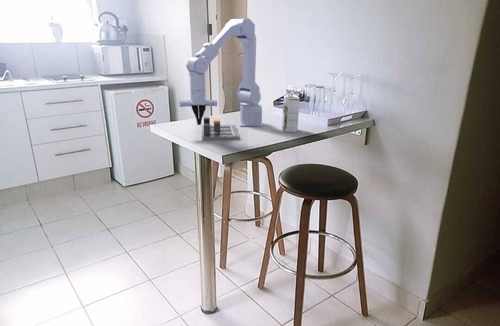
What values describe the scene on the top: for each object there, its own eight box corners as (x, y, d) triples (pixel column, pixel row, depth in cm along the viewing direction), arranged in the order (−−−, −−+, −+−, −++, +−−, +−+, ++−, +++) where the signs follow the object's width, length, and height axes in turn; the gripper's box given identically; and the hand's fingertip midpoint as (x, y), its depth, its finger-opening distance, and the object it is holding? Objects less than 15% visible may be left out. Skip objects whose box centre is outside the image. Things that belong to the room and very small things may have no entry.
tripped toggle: (219, 128, 146) (219, 119, 145) (220, 130, 144) (220, 120, 142) (213, 128, 146) (213, 119, 145) (214, 130, 143) (213, 121, 142)
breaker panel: (234, 127, 155) (234, 115, 153) (239, 139, 138) (239, 126, 136) (202, 128, 153) (201, 116, 151) (202, 140, 136) (201, 126, 135)
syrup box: (281, 128, 154) (283, 94, 149) (295, 128, 154) (297, 94, 149) (283, 132, 148) (285, 97, 144) (298, 132, 149) (300, 97, 144)
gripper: (215, 88, 144) (216, 121, 148) (178, 88, 141) (180, 122, 145) (217, 90, 137) (218, 125, 142) (178, 91, 134) (180, 126, 139)
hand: (199, 124), depth 143 cm, fingers closed
